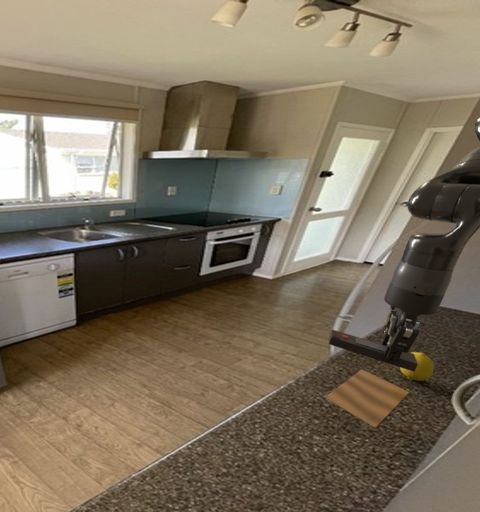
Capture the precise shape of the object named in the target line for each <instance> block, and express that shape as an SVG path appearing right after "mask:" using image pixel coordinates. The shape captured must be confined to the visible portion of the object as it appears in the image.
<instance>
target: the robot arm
mask: <svg viewBox="0 0 480 512" xmlns="http://www.w3.org/2000/svg"><path fill="white" fill-rule="evenodd" d="M473 129H474V135H475V137H476V140H477V141H478V142H479V144H480V116H479V117H478V118H477V119H476V120H475V122H474V126H473ZM407 210H408V213H409V214H410V215H411V216H412V217H413V218H415V219H419V220H424V221H431V222H440V223H446V224H447V223H448V224H455V226H454V227H453V228H452V229H451V230H449V231H446V232H416V233H413V234H411V235H410V237H408V240H407V242H406V244H405V247H404V250H403V252H402V255H401V258H400V261H399V263H398V264H397V265H396V267H395V269H394V271H393V273H392V276H391V279H390V280H389V284H388V287H387V288H386V292H385V295H384V297H383V300H384V302H385V303H386V304H387V305H389V307H390V309H389V311H388V315H387V317H386V320H385V324H384V325H383V327H384V331H383V334H384V336H383V338H382V341H381V343H380V344H383V345H386V346H387V347H386V350H385V352H384V355H383V357H382V360H383V363H386V364H388V365H391V366H395V365H397V363H398V361H399V358H400V356H401V354H402V352H404V353H407V352H409V351H410V349H411V347H412V345H413V344H414V342H415V340H416V339H417V337H418V336H419V334H420V331H419V330H418V329H419V327H420V323H421V321H420V320H419V316H421V315H425V316H431V315H432V316H433V315H435V314H436V313H437V312H438V310H439V308H440V306H441V304H442V302H443V299H444V297H445V295H446V293H447V291H448V288H449V286H450V284H451V282H452V278H453V272H454V269H455V268H456V265H457V263H458V261H459V259H460V257H461V254H462V253H463V250H464V249H465V247H466V246H467V244H469V241H470V240H471V239H472V238H473V237H474V236H475V234H477V232H478V231H479V230H480V146H478V147H476V148H475V149H473V150H471V151H470V152H469V153H467V154H466V155H465V156H464V157H462V158H461V159H460V160H459V161H458V162H457V163H456V164H455V165H454V166H453V167H452V168H451V169H450V170H447V171H445V172H443V173H441V174H439V175H437V176H435V177H432V178H430V179H429V180H427V181H425V182H424V183H422V184H421V185H420V186H419V187H417V188H416V189H415V190H414V191H413V193H412V194H411V195H410V196H409V198H408V201H407ZM400 343H401V344H400Z"/></svg>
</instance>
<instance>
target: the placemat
mask: <svg viewBox="0 0 480 512" xmlns="http://www.w3.org/2000/svg"><path fill="white" fill-rule="evenodd" d="M409 393H410V391H408V390H406V389H404V388H402V387H400V386H397V385H396V384H394V383H391V382H389V381H387V380H385V379H383V378H381V377H380V376H378V375H375V374H373V373H371V372H368V371H366V370H365V369H362V368H361V369H360V370H359V371H357V372H356V373H354V374H353V375H352V376H350V377H349V378H348V379H347V380H346V381H344V382H343V383H341V384H340V385H339V386H338V387H336V388H334V390H332V391H331V392H330V393H329V394H327V395H326V396H325V397H324V398H325V399H327V400H328V401H330V402H332V403H333V404H334V405H336V406H339V408H341V409H343V410H345V411H346V412H347V413H350V415H351V414H352V415H353V416H355V417H356V418H358V419H360V420H361V421H363V422H365V423H366V424H368V425H370V426H372V427H373V428H375V429H376V428H377V427H378V426H379V425H380V424H381V423H382V422H383V421H384V420H385V419H386V418H387V417H388V415H390V413H391V412H393V410H394V409H395V408H397V406H398V405H399V404H400V403H401V402H402V401H403V400H404V399H405V398H406V397H407V395H409Z"/></svg>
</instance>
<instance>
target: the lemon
mask: <svg viewBox="0 0 480 512" xmlns="http://www.w3.org/2000/svg"><path fill="white" fill-rule="evenodd" d="M411 353H413V354H414V355H415V358H416V360H417V363H418V365H417V367H416V369H415V372H413V371H410V370H407V369H404V368H401V367H399V369H400V372H401V373H402V374H403V375H404V376H405V377H406V378H407V379H409V380H411V381H416V382H417V381H419V382H422V381H426V380H428V379H429V378H431V376H433V374H434V370H435V364H434V362H433V360H432V359H431V358H430V357H429V356H428V355H427V354H425V353H424V352H417V351H411Z"/></svg>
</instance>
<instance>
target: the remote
mask: <svg viewBox="0 0 480 512" xmlns="http://www.w3.org/2000/svg"><path fill="white" fill-rule="evenodd" d="M328 345H331V346H333V347H335V348H339V349H342V350H345V351H349V352H352V353H355V354H358V355H361V356H364V357H366V358H370V359H374V360H376V361H379V362H383V360H382V357H383V355H384V352H385V350H386V347H387V346H386V345H383V344H381V343H379V342H376V341H372V340H369V339H366V338H363V337H358V336H357V335H352V334H348V333H345V332H342V331H339V330H335V329H331V331H330V333H329V338H328ZM383 363H384V362H383ZM417 365H418V363H417V360H416V358H415V355H414V354H413V353H412V352H409V351H408V352H407V353H404V352H402V354H401V356H400V358H399V361H398V363H397V365H394V367H398V368H400V367H401V368H404V369H407V370H410V371H413V372H415V369H416V367H417Z"/></svg>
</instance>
